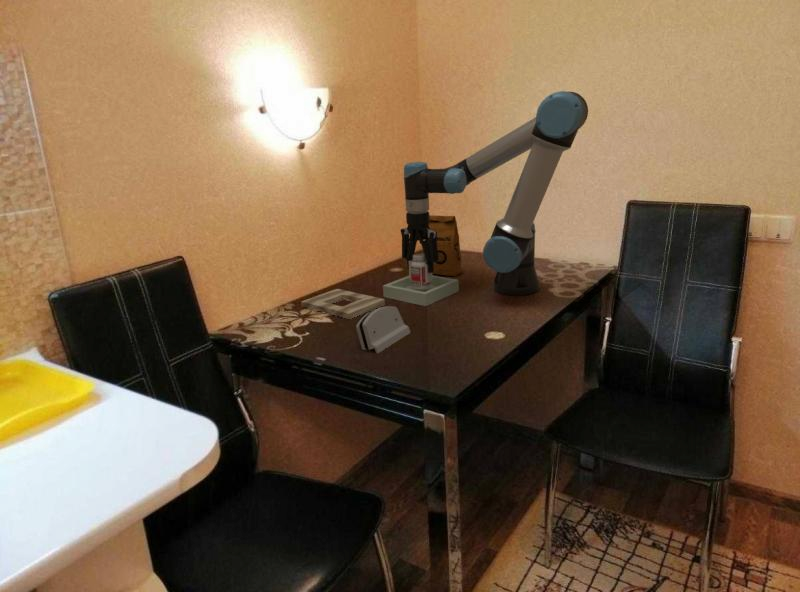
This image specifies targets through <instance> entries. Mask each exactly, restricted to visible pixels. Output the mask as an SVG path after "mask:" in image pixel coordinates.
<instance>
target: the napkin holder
mask: <svg viewBox="0 0 800 592" xmlns="http://www.w3.org/2000/svg"><path fill="white" fill-rule="evenodd" d="M355 325H356V333H357V335H358V340H359V344H360V347H361V350H362V349H363V350H365V351H367V350H368V351H370V350H373V349H374V351H375V353H376V354H379V353H381V352H382V351H384V350H385V348H386V349H387V348H389V347H391V346H392V345H393V344H395V343H397V342H398V341H399V340H401V339H403V338H405V337H406V336H408V335H409V334H411V330H410V327H409V326H408V325H406V323H404V320H403V317H402V316H401V313H400V311H399V310H398V307H397V306H391V305H389V306H388V305H387V306H382V307H379V308H377V309H374V310H372V311H370V312H367V313H365V314H364V316H362V318H360V320H359V321H358V322H357V324H355ZM363 350H362V351H363Z"/></svg>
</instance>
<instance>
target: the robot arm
mask: <svg viewBox="0 0 800 592" xmlns="http://www.w3.org/2000/svg"><path fill="white" fill-rule="evenodd" d="M587 103H588V102H587V101H586V99H585V98H584V97H583V96H582V95H581V94H579V93H578V92H575V91H566V90H565V91H564V90H562V91H561V90H559V91H555V92H553V93H551V94H549V95H548V96H546V97H545V98H544V99H543V100H542V101H541V102H540V104H539V106H538V108H537V110H536V114H535V115H536V116H535V117H534V118H532V119H530V120H529V121H527V122H525V123H523V124H522V125H519V127H517V128H515V129H513V130H512V131H510V132H508V133H507V134H505V135H503V136H502V137H500V138H498V139H496V140H495V141H493V142H491V143H490V144H488V145H486V146H485V147H482V148H481V149H479V150H478V151H475V153H473V154H471V155H470V156H468V157H466V158H464V159H463V160H461V161H459V162H458V163H456V164H454V165H451V166H448V167H445V168H429V167H428V163H427V162H426V161H413V162H408V163H405V164H404V166H403V182H404V184H403V185H404V193H405V194H404V195H405V198H404V199H405V201H404V202H405V211H406V214H405V216H406V217H405V218H406V224H407V227H404V228H401V229H400V234H401V235H400V236H401V258H402V259H405V260H406V262H407V263H406V264H407V270H408V276H409V278H410V280H412V275H411V263H412V262H413V261H414V260H413V255H414V254H416V253H415V252H416V248H417V242H419V244H421V245H420V246H421V248H422V250H423V251H422V252H423V254H424V255H425V258H426V263H425V279H426V283H429V282H431V281H432V275H433V274H432V272H433V271H434V268H433V263H434V262H436V261H438V250H437V240H436V238H437V231H431V230H430V228H429V222H430V216H429V215H430V212H429V211H430V198H429V196H430V195H429V194H450V195H454V194H462V193H464V192H465V189H466V187H467V186H468V185H469V184H471V183H473V182H475V181H476V180H477V179H479V178H481V177H483V176H485V175H487V174H489V173H490V172H492V171H494V170H495V169H497V168H499V167H501V166H503V165H505V164H506V163H507V162H510V161H511V160H513V159H515V158H517V157H519V156H520V155H522V154H524V153H525V152H528V151H529V154H528V155H527V158H526V161H525V164H524V165H523V169H522V172H521V174H520V176H519V179H518V181H517V183H516V186H515V189H514V191H513V194H512V196H511V199H510V202H509V204H508V207H507V208H506V210H505V211H506V212H505V213H504V217H502V218H501V219H499V220H497V221H496V223H495V225H494V228H493V231H492V233H491V235H490V237H489V239H488V240H487V241H486V242H485V244H484V246H483V248H482V249H483V250H482V257H483V260H484V262H485V263H486V265H487V266H488V267H489V268H490V269H491V270H493V271H495V272H496V274H495V277H494V280H493V291H494V292H496V293H498V294H502V295H506V296H526V294H528V295H532V294H535V293H537V292H539V291H538V290H540V280H539V276H538V273H537V271H536V267H535V254H536V253H535V250H536V245H535V243H536V232H537V231H536V227H535V226H536V225H535V223H534V222H535V220H536V216H537V214H538V212H539V210H540V206H541V204H542V202H543V200H544V197H545V195H546V193H547V191H548V189H549V186H550V184H551V181H552V178H553V177H554V175H555V171H556V169H557V167H558V165H559V162H560V159H561V157H562V155H563V153H564V152H565V151H568V150H569V149H571V147H572V145H573V143H574V142H575V141H574V140H575V138H576V136H577V134H578V131H579V130H580V129H581V128H582V127H583V126H584V124H585V123H586V121H587V119H588V115H589V108H588V104H587ZM428 234H429V235H428ZM428 237H429V238H428ZM534 292H535V293H534ZM531 293H532V294H531Z"/></svg>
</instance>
